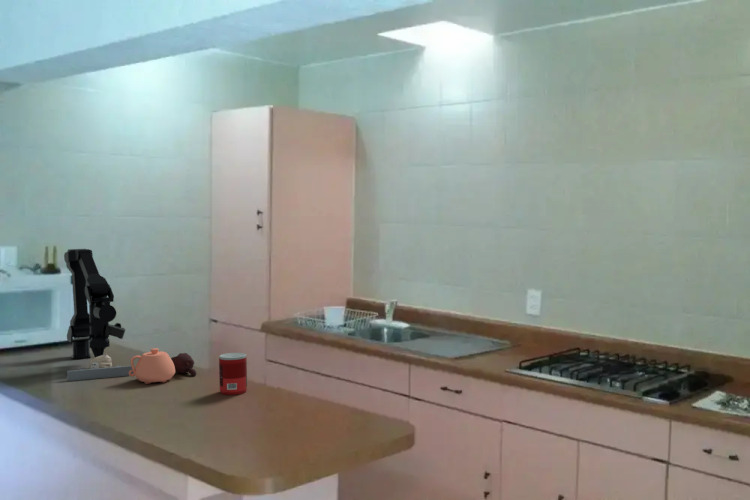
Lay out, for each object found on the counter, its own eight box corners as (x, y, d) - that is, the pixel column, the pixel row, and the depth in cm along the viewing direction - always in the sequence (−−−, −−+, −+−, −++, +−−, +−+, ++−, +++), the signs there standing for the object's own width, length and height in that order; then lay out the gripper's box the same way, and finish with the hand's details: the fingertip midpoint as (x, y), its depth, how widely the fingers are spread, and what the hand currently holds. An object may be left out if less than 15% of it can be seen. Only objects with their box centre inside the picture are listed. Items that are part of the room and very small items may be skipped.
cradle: (67, 376, 236) (67, 367, 236) (132, 371, 244) (132, 362, 243) (67, 381, 231) (67, 371, 230) (133, 375, 238) (133, 366, 238)
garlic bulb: (95, 377, 235) (94, 353, 234) (86, 374, 239) (86, 350, 239) (114, 374, 240) (114, 350, 239) (106, 371, 244) (105, 347, 244)
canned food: (252, 391, 216) (251, 354, 215) (230, 396, 210) (229, 359, 209) (236, 387, 221) (236, 351, 221) (214, 392, 215) (213, 355, 215)
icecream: (159, 352, 242) (181, 363, 232) (179, 344, 247) (201, 354, 236) (163, 371, 244) (186, 383, 234) (183, 363, 249) (206, 373, 238)
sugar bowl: (176, 383, 227) (176, 350, 226) (129, 387, 222) (128, 354, 222) (174, 374, 238) (173, 343, 238) (128, 378, 234) (128, 346, 233)
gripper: (124, 321, 243) (126, 367, 244) (122, 313, 260) (123, 356, 261) (88, 323, 239) (90, 370, 240) (88, 314, 256) (90, 358, 257)
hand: (99, 363), depth 250 cm, fingers closed
